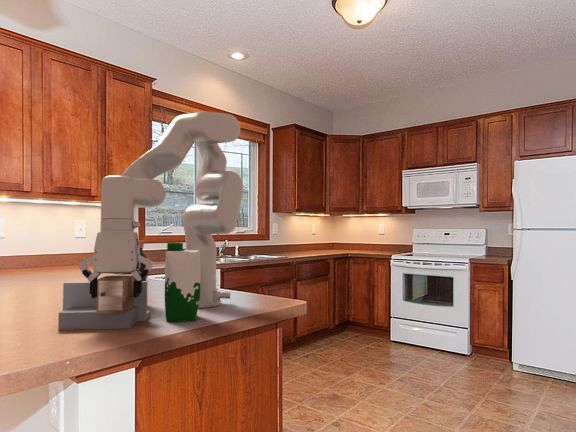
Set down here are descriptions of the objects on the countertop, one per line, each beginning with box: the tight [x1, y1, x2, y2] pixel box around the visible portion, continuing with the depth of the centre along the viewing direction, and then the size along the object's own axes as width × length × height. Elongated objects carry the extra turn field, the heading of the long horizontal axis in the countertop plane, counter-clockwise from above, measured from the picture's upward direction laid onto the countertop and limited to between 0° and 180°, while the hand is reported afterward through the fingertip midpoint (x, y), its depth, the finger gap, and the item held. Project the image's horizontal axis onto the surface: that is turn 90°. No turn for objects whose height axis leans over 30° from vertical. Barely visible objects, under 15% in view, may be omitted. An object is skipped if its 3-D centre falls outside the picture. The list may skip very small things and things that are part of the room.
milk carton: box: [164, 242, 201, 323], centre depth 103 cm, size 9×9×20 cm
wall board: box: [57, 280, 151, 331], centre depth 98 cm, size 20×12×10 cm, turn 98°
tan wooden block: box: [97, 273, 134, 314], centre depth 95 cm, size 6×10×8 cm, turn 8°
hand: (116, 296), depth 95 cm, fingers open, 9 cm apart
